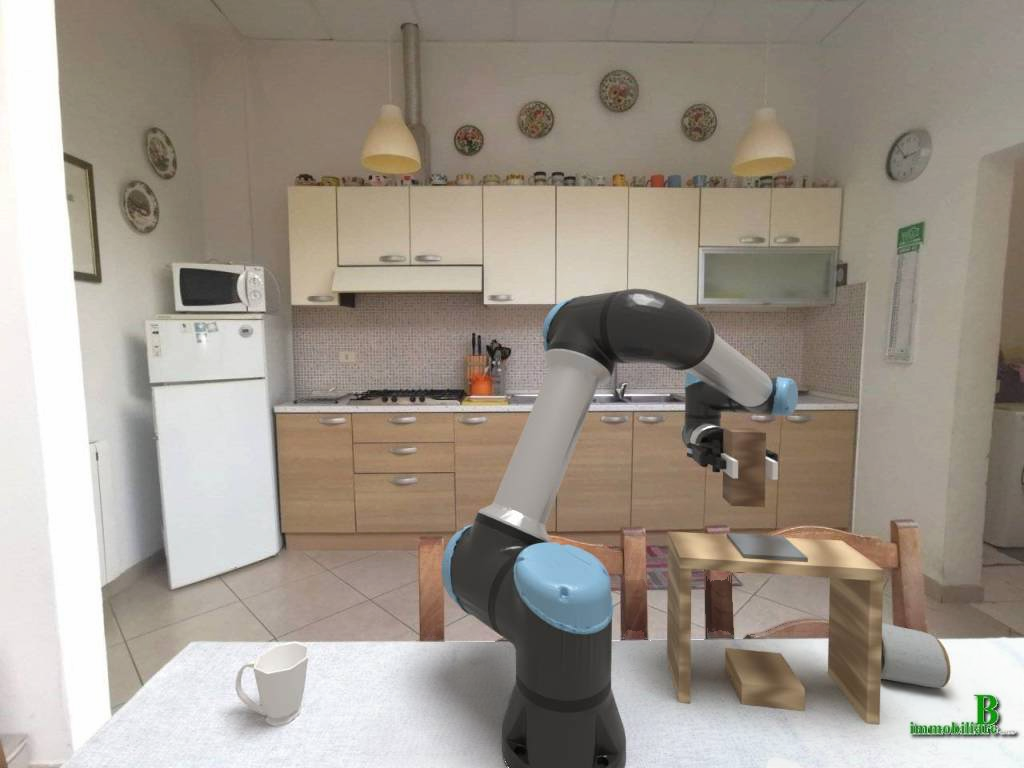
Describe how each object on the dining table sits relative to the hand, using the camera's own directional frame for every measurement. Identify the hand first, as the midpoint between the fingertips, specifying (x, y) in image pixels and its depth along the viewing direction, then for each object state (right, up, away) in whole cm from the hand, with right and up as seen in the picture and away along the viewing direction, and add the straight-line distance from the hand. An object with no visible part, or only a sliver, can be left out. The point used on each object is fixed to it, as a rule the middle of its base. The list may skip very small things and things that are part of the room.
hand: (755, 470), depth 71 cm
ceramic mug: (+21, -31, -1) cm, 38 cm away
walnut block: (+1, -6, +5) cm, 8 cm away
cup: (-70, -32, -9) cm, 77 cm away
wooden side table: (-1, -31, -4) cm, 31 cm away
